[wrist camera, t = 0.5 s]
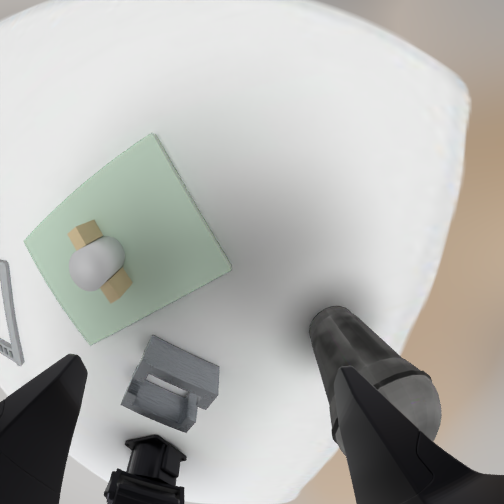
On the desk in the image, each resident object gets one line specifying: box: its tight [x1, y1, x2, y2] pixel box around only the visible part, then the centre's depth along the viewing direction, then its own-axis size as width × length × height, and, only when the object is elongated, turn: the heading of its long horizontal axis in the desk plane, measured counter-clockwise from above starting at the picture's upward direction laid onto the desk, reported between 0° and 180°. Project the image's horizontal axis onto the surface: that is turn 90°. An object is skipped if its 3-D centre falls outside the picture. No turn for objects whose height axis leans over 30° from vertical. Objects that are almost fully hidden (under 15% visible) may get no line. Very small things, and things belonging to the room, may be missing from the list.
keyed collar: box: [121, 335, 219, 433], centre depth 23 cm, size 7×7×4 cm
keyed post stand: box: [24, 133, 231, 346], centre depth 18 cm, size 16×12×5 cm
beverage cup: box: [309, 306, 441, 456], centre depth 15 cm, size 7×7×20 cm
